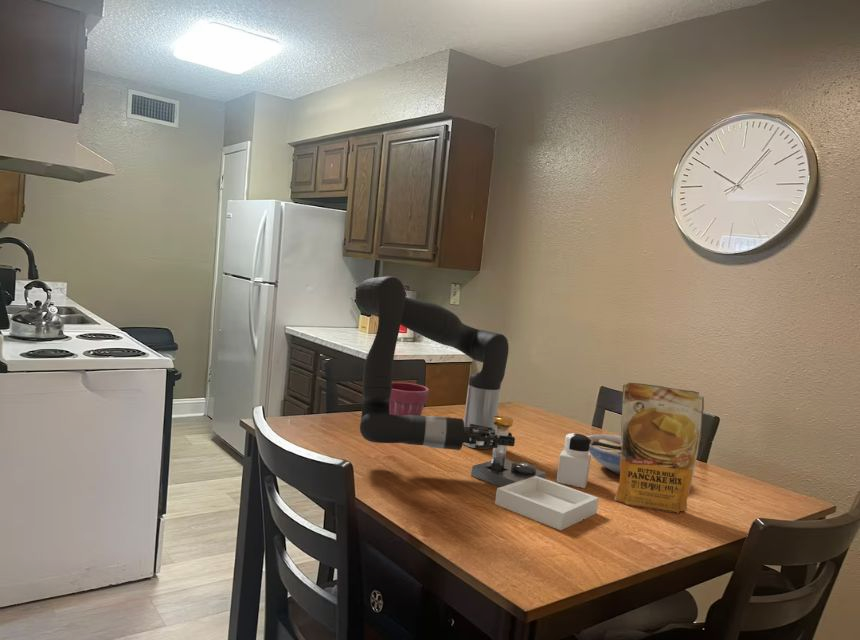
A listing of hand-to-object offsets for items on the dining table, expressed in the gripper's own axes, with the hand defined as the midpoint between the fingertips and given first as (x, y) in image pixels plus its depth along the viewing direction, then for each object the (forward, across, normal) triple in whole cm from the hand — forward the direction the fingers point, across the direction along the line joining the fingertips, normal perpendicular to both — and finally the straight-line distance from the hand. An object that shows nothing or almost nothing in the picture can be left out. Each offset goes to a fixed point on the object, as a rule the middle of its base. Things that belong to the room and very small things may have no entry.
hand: (512, 439), depth 150 cm
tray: (+5, -17, +10) cm, 21 cm away
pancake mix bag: (+32, -9, +10) cm, 35 cm away
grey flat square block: (0, 0, +10) cm, 10 cm away
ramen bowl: (+36, +16, +10) cm, 40 cm away
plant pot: (-25, +41, +10) cm, 50 cm away
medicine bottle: (+17, +3, +10) cm, 20 cm away
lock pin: (-3, 0, +9) cm, 9 cm away
